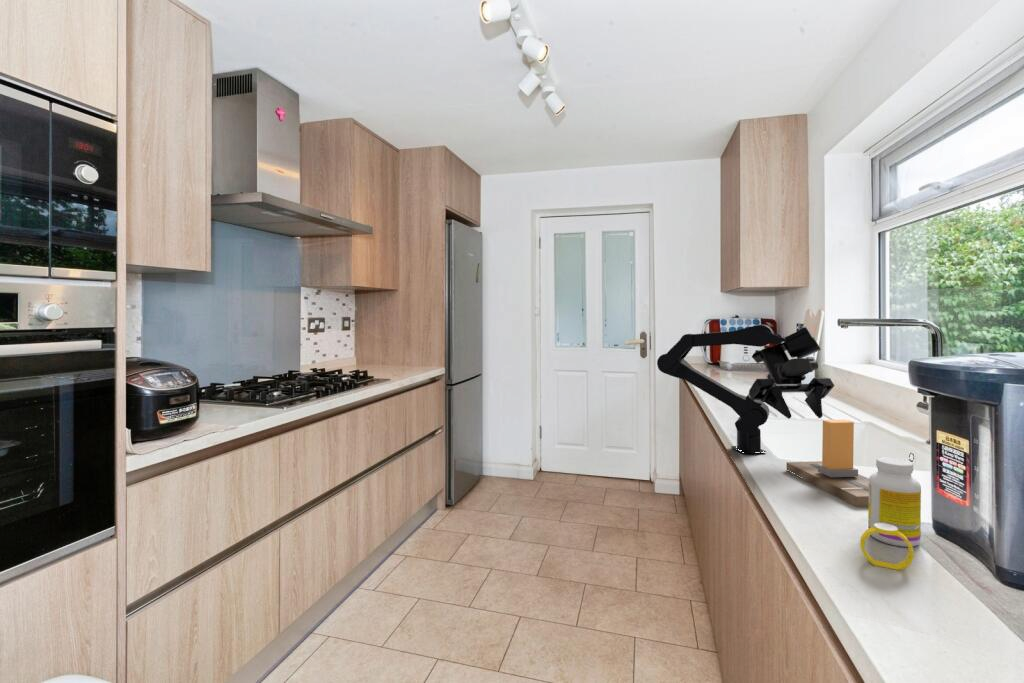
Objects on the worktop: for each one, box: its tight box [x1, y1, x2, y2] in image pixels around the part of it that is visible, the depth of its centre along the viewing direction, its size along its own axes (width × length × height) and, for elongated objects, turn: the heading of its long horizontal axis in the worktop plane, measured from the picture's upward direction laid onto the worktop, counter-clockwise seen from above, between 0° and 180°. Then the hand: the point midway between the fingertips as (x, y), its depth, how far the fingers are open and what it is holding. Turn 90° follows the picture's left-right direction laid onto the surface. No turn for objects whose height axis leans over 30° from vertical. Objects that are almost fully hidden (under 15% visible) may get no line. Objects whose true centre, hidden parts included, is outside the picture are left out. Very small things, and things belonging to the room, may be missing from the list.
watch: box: [859, 523, 915, 571], centre depth 69 cm, size 6×3×6 cm, turn 59°
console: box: [786, 460, 869, 508], centre depth 102 cm, size 22×10×2 cm, turn 2°
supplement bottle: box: [867, 456, 922, 548], centre depth 77 cm, size 7×7×13 cm
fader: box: [818, 419, 859, 477], centre depth 102 cm, size 4×6×12 cm, turn 92°
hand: (805, 417), depth 113 cm, fingers open, 7 cm apart
